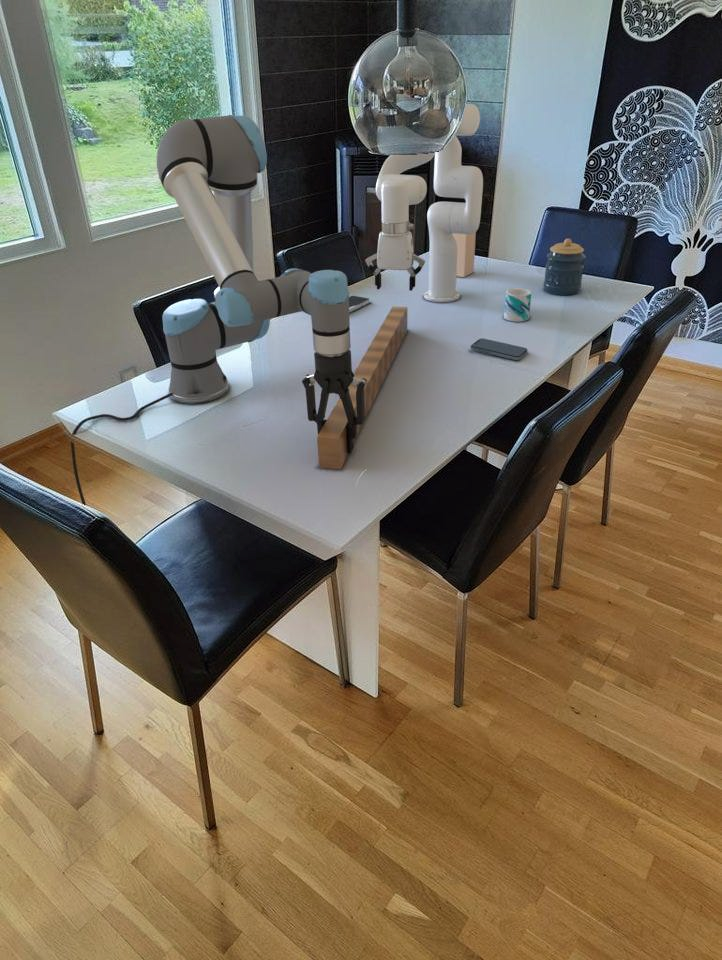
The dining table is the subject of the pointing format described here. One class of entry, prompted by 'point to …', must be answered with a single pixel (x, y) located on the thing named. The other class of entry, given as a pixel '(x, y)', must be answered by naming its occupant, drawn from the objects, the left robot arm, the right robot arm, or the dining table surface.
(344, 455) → the post
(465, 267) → the tan upright wooden block
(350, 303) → the smartphone
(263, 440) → the dining table surface
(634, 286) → the dining table surface
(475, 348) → the smartphone
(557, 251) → the canister
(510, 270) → the dining table surface
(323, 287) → the left robot arm
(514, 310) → the mug
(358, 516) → the dining table surface
